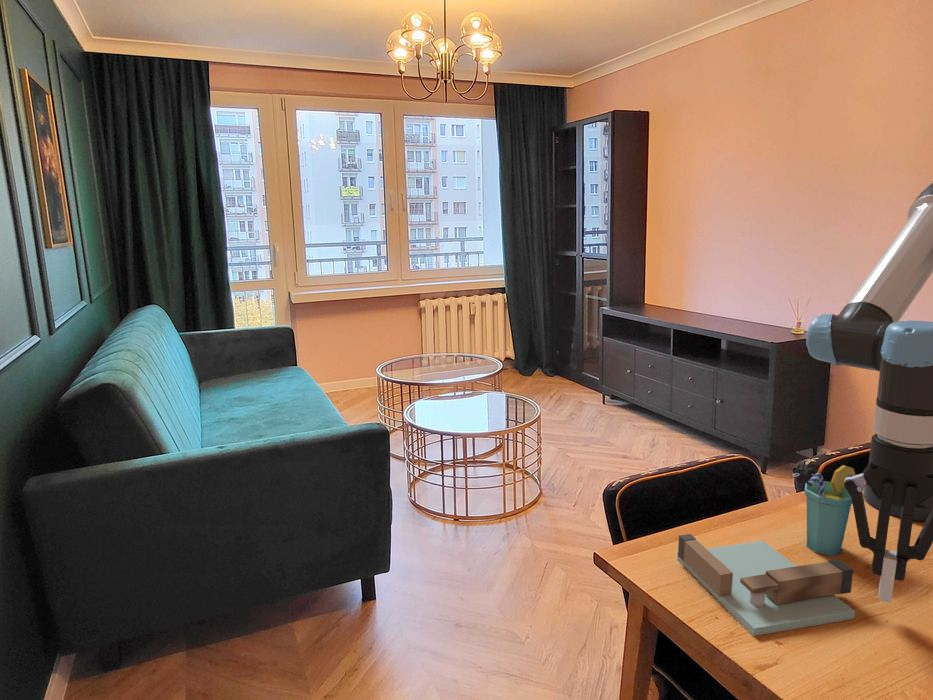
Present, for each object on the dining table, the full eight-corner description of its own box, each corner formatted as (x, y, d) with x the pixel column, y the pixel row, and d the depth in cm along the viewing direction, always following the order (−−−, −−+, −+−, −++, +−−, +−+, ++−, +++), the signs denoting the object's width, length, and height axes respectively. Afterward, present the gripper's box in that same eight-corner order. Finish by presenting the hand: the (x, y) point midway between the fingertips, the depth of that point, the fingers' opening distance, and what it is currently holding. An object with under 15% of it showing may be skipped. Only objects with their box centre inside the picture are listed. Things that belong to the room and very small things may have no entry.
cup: (825, 573, 100) (835, 486, 97) (777, 553, 106) (784, 470, 103) (863, 544, 108) (873, 462, 105) (816, 527, 114) (824, 449, 111)
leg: (751, 608, 89) (753, 584, 89) (738, 596, 92) (740, 573, 91) (850, 592, 92) (853, 569, 92) (835, 581, 95) (837, 558, 94)
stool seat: (762, 547, 108) (764, 520, 107) (854, 618, 89) (858, 587, 88) (674, 559, 105) (676, 532, 104) (750, 636, 86) (753, 604, 85)
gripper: (965, 438, 83) (940, 597, 88) (850, 422, 90) (833, 570, 95) (970, 457, 77) (944, 626, 82) (846, 438, 84) (829, 595, 89)
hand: (884, 596), depth 89 cm, fingers closed
